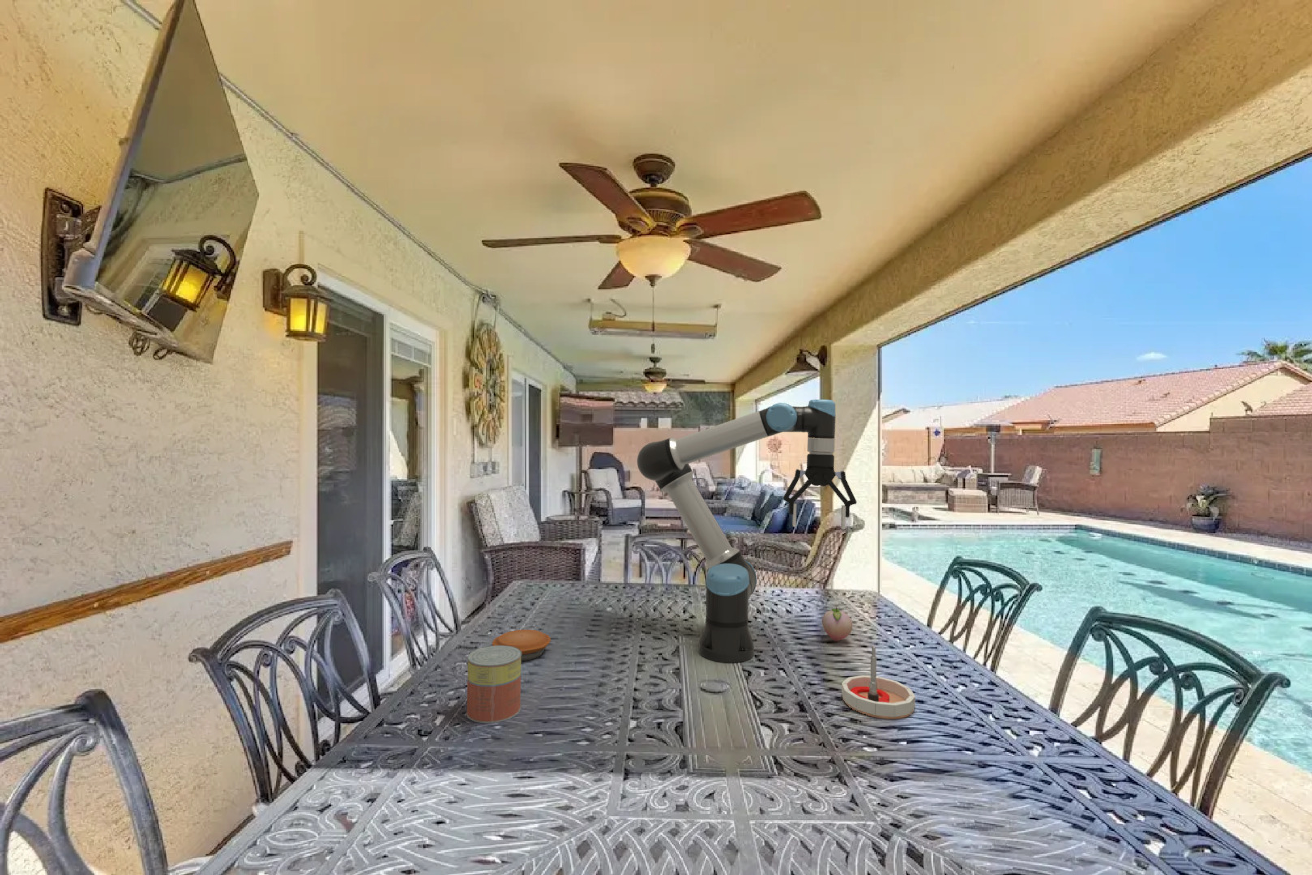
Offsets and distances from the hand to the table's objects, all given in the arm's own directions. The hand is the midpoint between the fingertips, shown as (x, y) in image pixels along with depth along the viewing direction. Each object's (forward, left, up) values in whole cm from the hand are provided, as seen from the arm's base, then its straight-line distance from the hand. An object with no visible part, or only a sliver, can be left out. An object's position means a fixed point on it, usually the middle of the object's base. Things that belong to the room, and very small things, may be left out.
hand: (818, 527), depth 165 cm
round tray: (+10, -34, -34) cm, 49 cm away
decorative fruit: (+7, +6, -35) cm, 36 cm away
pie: (-80, -22, -35) cm, 90 cm away
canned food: (-73, -54, -35) cm, 97 cm away
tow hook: (+8, -33, -34) cm, 48 cm away
